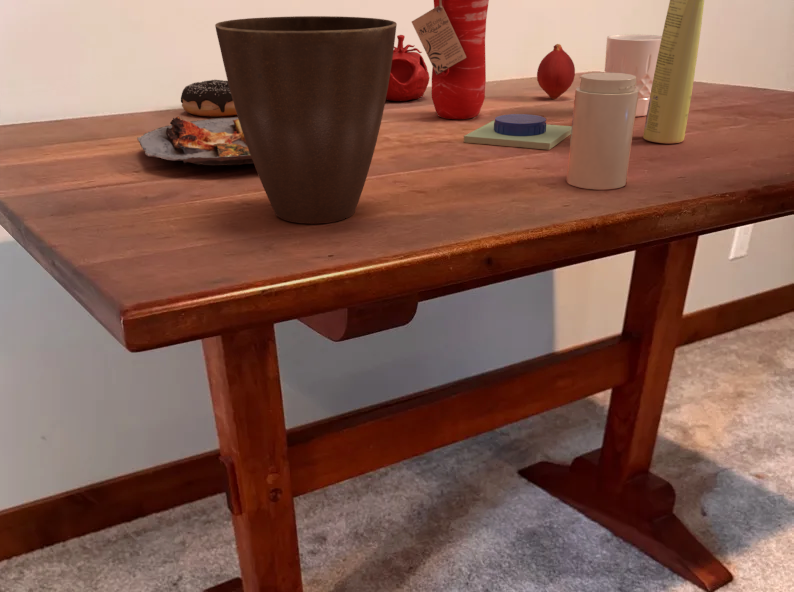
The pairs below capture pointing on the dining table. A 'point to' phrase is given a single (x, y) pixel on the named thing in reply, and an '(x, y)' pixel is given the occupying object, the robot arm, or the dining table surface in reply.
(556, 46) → the onion
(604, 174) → the white jar
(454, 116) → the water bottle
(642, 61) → the white cup
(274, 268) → the dining table surface
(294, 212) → the flower pot
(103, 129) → the dining table surface
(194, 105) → the donut
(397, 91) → the red tomato holder
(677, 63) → the tube
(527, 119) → the jar lid
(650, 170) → the dining table surface
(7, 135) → the dining table surface
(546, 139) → the mat
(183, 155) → the food plate
